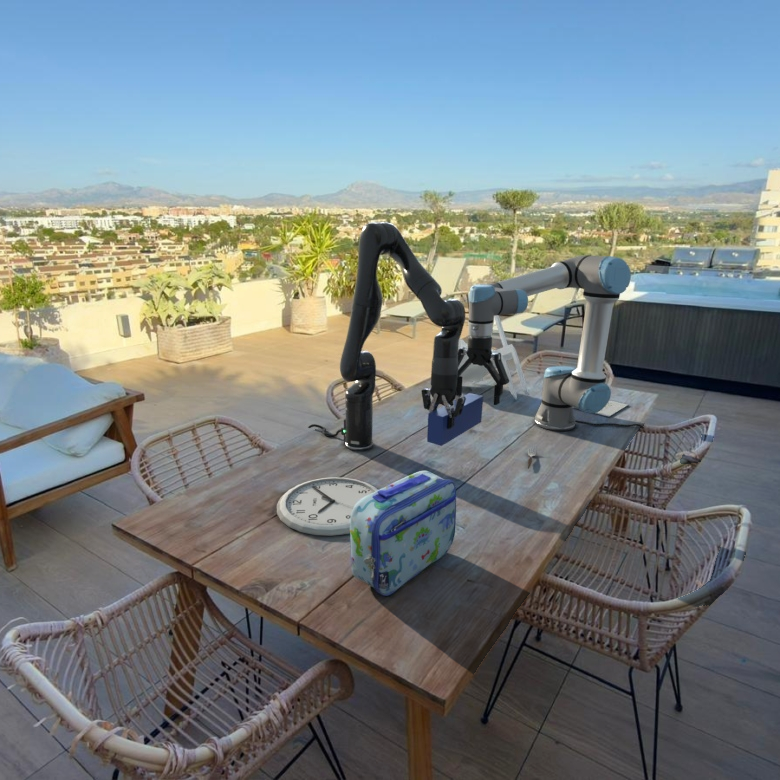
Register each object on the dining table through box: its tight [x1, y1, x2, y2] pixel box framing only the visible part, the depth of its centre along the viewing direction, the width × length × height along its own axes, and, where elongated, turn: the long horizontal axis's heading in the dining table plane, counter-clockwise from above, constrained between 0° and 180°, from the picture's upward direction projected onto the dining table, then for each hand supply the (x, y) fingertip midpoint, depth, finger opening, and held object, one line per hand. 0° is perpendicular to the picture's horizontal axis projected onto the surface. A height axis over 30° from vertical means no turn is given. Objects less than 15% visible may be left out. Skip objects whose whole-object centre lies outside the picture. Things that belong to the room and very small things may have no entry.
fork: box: [527, 445, 537, 469], centre depth 172 cm, size 3×16×2 cm, turn 160°
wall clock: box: [276, 476, 380, 537], centre depth 142 cm, size 30×2×30 cm
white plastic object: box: [458, 315, 531, 400], centre depth 245 cm, size 37×45×31 cm
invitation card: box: [573, 399, 629, 418], centre depth 226 cm, size 21×1×15 cm
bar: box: [426, 392, 484, 447], centre depth 161 cm, size 25×5×9 cm, turn 143°
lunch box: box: [349, 470, 457, 597], centre depth 114 cm, size 26×11×21 cm, turn 134°
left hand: (441, 425), depth 154 cm, fingers closed on bar, 5 cm apart
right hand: (477, 400), depth 169 cm, fingers open, 13 cm apart
